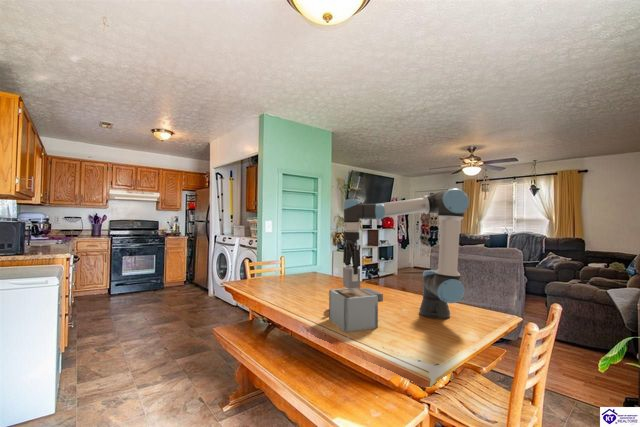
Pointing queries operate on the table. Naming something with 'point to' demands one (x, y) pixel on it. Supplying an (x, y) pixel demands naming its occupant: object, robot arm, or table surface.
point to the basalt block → (350, 278)
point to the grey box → (353, 311)
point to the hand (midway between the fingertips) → (351, 279)
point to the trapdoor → (361, 293)
